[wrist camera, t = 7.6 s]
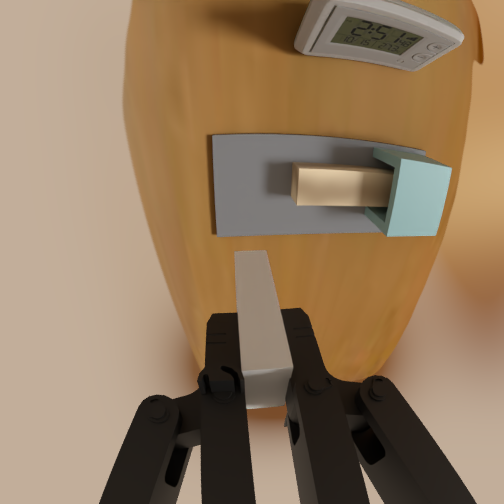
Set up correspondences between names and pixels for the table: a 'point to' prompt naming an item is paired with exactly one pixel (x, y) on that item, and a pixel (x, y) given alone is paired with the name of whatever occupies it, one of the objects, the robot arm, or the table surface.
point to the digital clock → (376, 33)
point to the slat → (340, 185)
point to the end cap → (411, 195)
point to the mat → (284, 183)
